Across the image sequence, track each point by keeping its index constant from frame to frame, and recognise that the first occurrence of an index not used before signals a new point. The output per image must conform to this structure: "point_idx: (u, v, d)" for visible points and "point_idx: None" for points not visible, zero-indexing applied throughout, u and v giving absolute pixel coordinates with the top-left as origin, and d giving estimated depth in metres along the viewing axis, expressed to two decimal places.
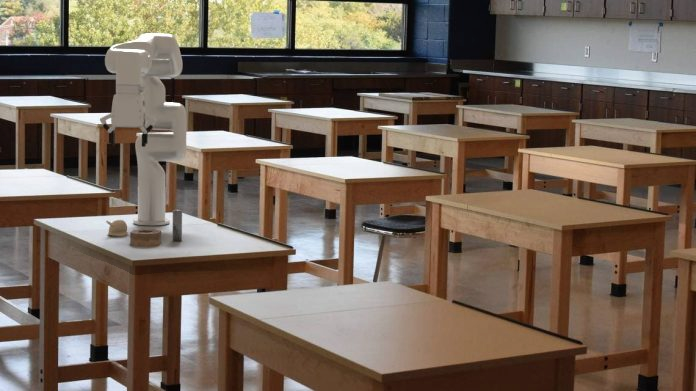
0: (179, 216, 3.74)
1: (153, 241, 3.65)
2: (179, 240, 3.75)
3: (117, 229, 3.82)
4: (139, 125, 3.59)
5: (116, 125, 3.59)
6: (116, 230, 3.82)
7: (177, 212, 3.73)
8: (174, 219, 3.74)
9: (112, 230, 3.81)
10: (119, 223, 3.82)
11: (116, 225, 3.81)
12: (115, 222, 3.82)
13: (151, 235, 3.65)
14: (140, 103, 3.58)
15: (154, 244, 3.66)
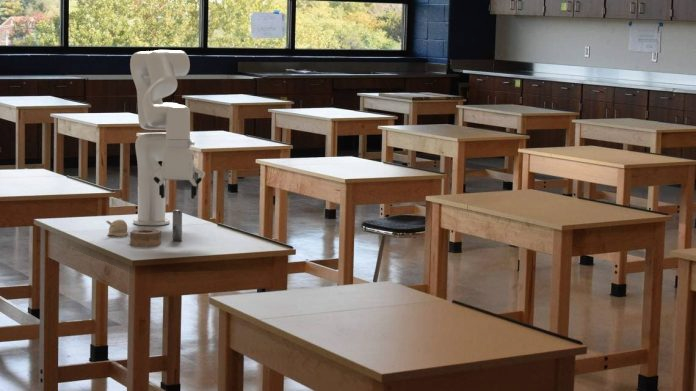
0: (179, 216, 3.74)
1: (153, 241, 3.65)
2: (179, 240, 3.75)
3: (117, 229, 3.82)
4: (189, 178, 3.71)
5: (166, 178, 3.71)
6: (116, 230, 3.82)
7: (177, 212, 3.73)
8: (174, 219, 3.74)
9: (112, 230, 3.82)
10: (119, 223, 3.82)
11: (116, 225, 3.82)
12: (115, 222, 3.82)
13: (151, 235, 3.65)
14: (190, 157, 3.70)
15: (154, 244, 3.66)
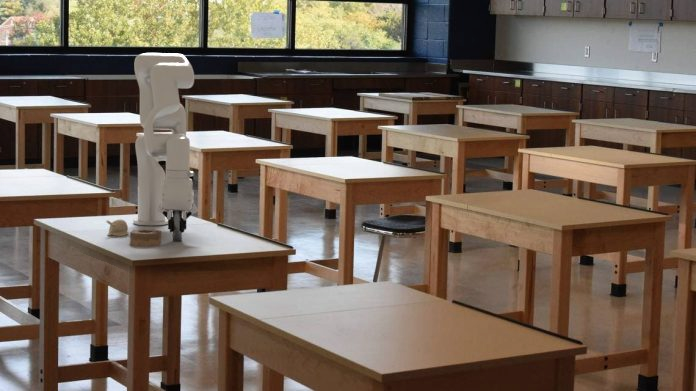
0: (179, 216, 3.74)
1: (153, 241, 3.65)
2: (179, 240, 3.75)
3: (117, 229, 3.82)
4: (188, 208, 3.73)
5: (166, 208, 3.73)
6: (116, 230, 3.82)
7: (177, 212, 3.73)
8: (174, 219, 3.74)
9: (112, 230, 3.82)
10: (119, 223, 3.82)
11: (116, 225, 3.82)
12: (115, 221, 3.82)
13: (151, 235, 3.65)
14: (189, 187, 3.72)
15: (154, 244, 3.66)
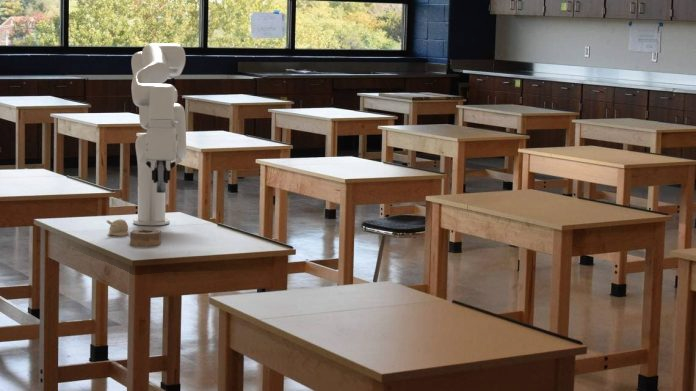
0: (163, 166, 3.68)
1: (153, 241, 3.65)
2: (163, 191, 3.69)
3: (117, 229, 3.82)
4: (172, 158, 3.67)
5: (149, 158, 3.67)
6: (116, 230, 3.82)
7: (161, 162, 3.67)
8: (158, 169, 3.68)
9: (112, 230, 3.82)
10: (119, 223, 3.83)
11: (116, 225, 3.82)
12: (115, 221, 3.83)
13: (151, 235, 3.65)
14: (173, 137, 3.66)
15: (154, 244, 3.66)
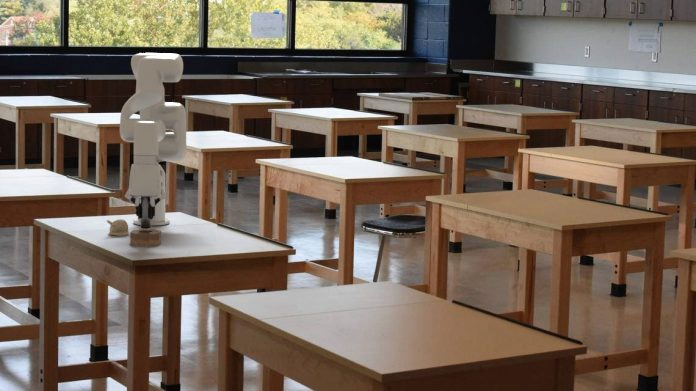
0: (147, 202, 3.66)
1: (153, 241, 3.65)
2: (147, 227, 3.67)
3: (117, 228, 3.83)
4: (156, 194, 3.65)
5: (134, 194, 3.65)
6: (116, 229, 3.83)
7: (145, 198, 3.66)
8: (142, 205, 3.66)
9: (113, 229, 3.83)
10: (120, 223, 3.83)
11: (116, 225, 3.83)
12: (115, 221, 3.83)
13: (151, 235, 3.65)
14: (157, 173, 3.64)
15: (154, 244, 3.66)
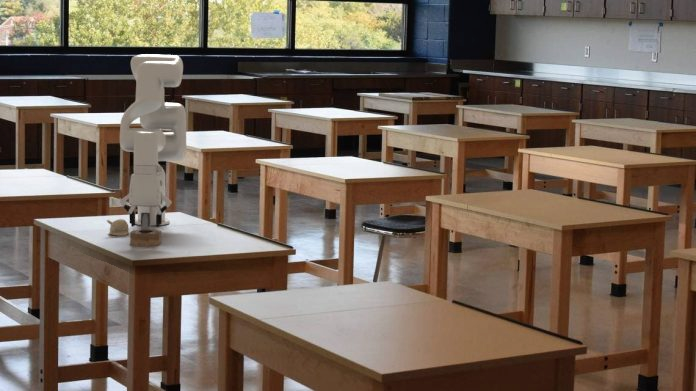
0: (147, 219, 3.67)
1: (153, 241, 3.65)
2: None
3: (118, 228, 3.83)
4: (156, 204, 3.65)
5: (134, 204, 3.65)
6: (117, 229, 3.83)
7: (145, 214, 3.66)
8: (142, 222, 3.67)
9: (113, 229, 3.83)
10: (120, 222, 3.83)
11: (117, 224, 3.83)
12: (115, 221, 3.83)
13: (151, 235, 3.65)
14: (157, 183, 3.64)
15: (154, 244, 3.66)
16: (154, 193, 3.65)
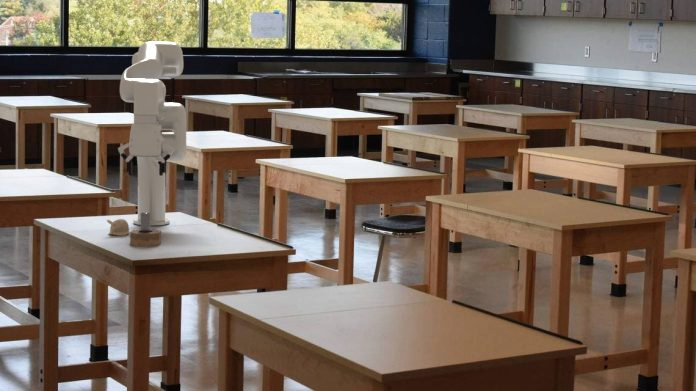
0: (147, 219, 3.67)
1: (153, 241, 3.65)
2: None
3: (118, 228, 3.83)
4: (157, 154, 3.63)
5: (134, 154, 3.63)
6: (117, 229, 3.83)
7: (145, 214, 3.66)
8: (142, 222, 3.67)
9: (113, 229, 3.83)
10: (120, 222, 3.83)
11: (117, 224, 3.83)
12: (116, 221, 3.83)
13: (151, 235, 3.65)
14: (158, 133, 3.62)
15: (154, 244, 3.66)
16: (154, 143, 3.63)
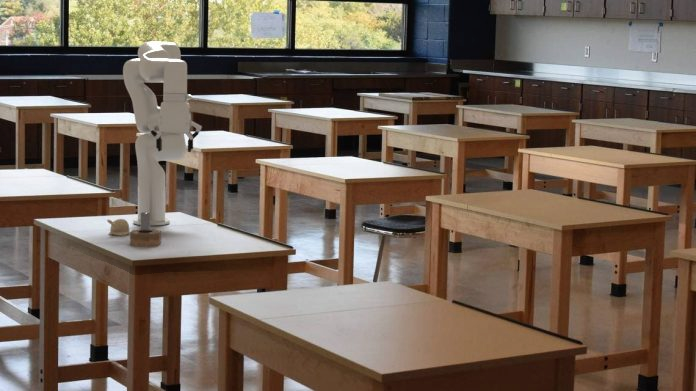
0: (147, 219, 3.67)
1: (153, 241, 3.65)
2: None
3: (118, 228, 3.83)
4: (185, 131, 3.76)
5: (163, 131, 3.76)
6: (117, 229, 3.84)
7: (145, 214, 3.66)
8: (142, 222, 3.67)
9: (113, 229, 3.83)
10: (120, 222, 3.84)
11: (117, 224, 3.83)
12: (116, 221, 3.84)
13: (151, 235, 3.65)
14: (186, 110, 3.76)
15: (154, 244, 3.66)
16: (183, 120, 3.76)
